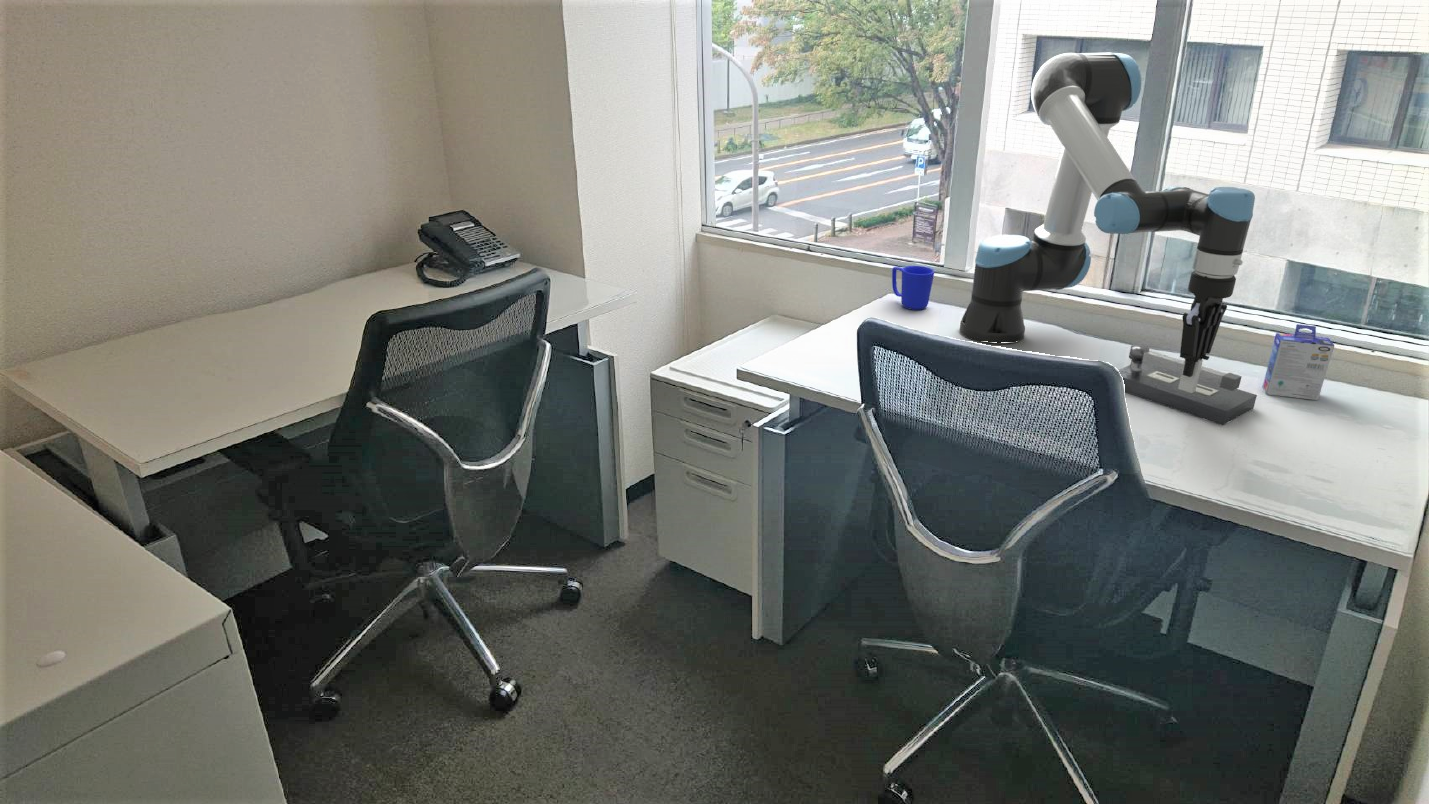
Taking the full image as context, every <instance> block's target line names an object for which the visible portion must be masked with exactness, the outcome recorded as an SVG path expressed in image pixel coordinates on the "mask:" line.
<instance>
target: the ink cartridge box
mask: <svg viewBox="0 0 1429 804" xmlns="http://www.w3.org/2000/svg"><path fill="white" fill-rule="evenodd" d="M1304 329H1307V330H1310V331H1311V332H1304V331H1303V332H1302V331H1299V330H1304ZM1316 332H1317V326H1314V325H1307V324H1306V325H1305V324H1298V323H1296V325H1295V330H1294V333H1293V334H1292V333H1291V334H1289V333H1281V332H1276V333H1275V336H1274V341H1273V344H1272V348H1271V353H1270V356H1269V360H1268V364H1267V368H1266V371H1265V375H1264V379H1263V383H1262V389H1263V392H1264V393H1265V394H1266V395H1271V396H1280V397H1286V398H1287V397H1290V398H1297V399H1303V400H1304V399H1305V400H1313V401H1319V399H1320V395H1321V391H1322V387H1323V386H1324V385H1323V384H1324V382H1325V378H1326V374H1327V371H1328V368H1329V364H1330V361H1331V357H1332V354H1333V351H1334V348H1335V344H1334V342H1332V340H1331V339H1330V338H1329V337H1325V336H1317V335H1316V334H1317V333H1316Z"/></svg>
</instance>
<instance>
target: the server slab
mask: <svg viewBox="0 0 1429 804" xmlns="http://www.w3.org/2000/svg"><path fill="white" fill-rule="evenodd" d="M1118 370H1119V372H1120V374H1121V376H1122V377H1123V380H1124V384H1125V392H1124V393H1126V394H1130V395H1133V396H1135V397H1137V398H1141V399H1144V400H1147V401H1151V402H1152V403H1156V404H1159V405H1161V406H1165V407H1167V408H1170V409H1173V410H1176V411H1179V412H1182V413H1186V414H1188V415H1190V416H1194V417H1198V418H1200V419H1203V420H1206V421H1209V422H1211V423H1214V424H1218V425H1221V426H1225V425H1226V424H1228V423H1230V422H1231V421H1232V422H1233V421H1234V420H1235V419H1238V418H1239V417H1240V416H1243V415H1244V414H1246V413H1248V412H1250V411H1252V410H1254V408H1255V405H1256V400H1257V396H1258V395H1257V394H1255V393H1252V392H1248V391H1245V390H1241V389H1239V388H1237V389H1235V390H1233V391H1231V390H1227V389H1224V388H1221V387H1220V385H1217V384H1214V383H1211V382H1207V381H1204V380H1201V379H1198V383H1197V387H1196V391H1195V392H1193V393H1190V392H1187V391H1184V390H1180V389H1178V387H1179V383H1180V378H1181V374H1182V373H1179V372H1175V371H1172V370H1169V369H1166V368H1162V367H1159V366H1156V365H1153V364H1150V363H1146V362H1143V361H1135V360H1132V359H1130V364H1128V365H1126V366H1124V367H1121V368H1120V369H1118Z"/></svg>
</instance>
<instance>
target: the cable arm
mask: <svg viewBox="0 0 1429 804" xmlns="http://www.w3.org/2000/svg"><path fill="white" fill-rule="evenodd" d="M1128 354H1129V355H1128V358H1129V359H1130V360H1131V359H1132V360H1135V361H1143V362H1146V363H1150V364H1153V365H1156V366H1159V367H1162V368H1166V369H1169V370H1172V371H1175V372H1179V373H1182V370H1183V365H1184V361H1185V360H1183V359H1181V358H1177V357H1173V356H1170V355H1166V354H1164V353H1163V354H1162V353H1159V352H1156V351H1153V350H1151V349H1150V347H1148V346H1147V345H1144V344H1132V345H1131V346H1130V349H1129V353H1128ZM1242 377H1243V376H1242V375H1238V374H1235V373H1232V372H1228V373H1227V372H1223V371H1219V370H1216V369H1212V368H1209V367H1206V366H1204V365H1202V366H1201V370H1200V374H1199V378H1198V379H1201V380H1204V381H1207V382H1211V383H1214V384H1217V385H1220V387H1221V388H1224V389H1227V390H1231V391H1233V390H1235V389H1239V388H1240V385H1241V381H1242Z"/></svg>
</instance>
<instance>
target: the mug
mask: <svg viewBox="0 0 1429 804" xmlns="http://www.w3.org/2000/svg"><path fill="white" fill-rule="evenodd" d="M897 271H899V272H901V293H900V292H899V291H898V286H897ZM891 272H892V274H891V281H892V282H891V283H892V284H891V285H892V292H893V293H894V295H895V296H896V297H900V301H901V304H902V306H903V307H904V308H906V309H908V310H915V311H917V310H924V309H927V307H928V305H929V301H930V296H931V291H932V287H933V286H932V285H933V281H934V275H935V270H934V269H933V268H930V267H928V266H923V265H922V266H921V265H909V266H904V267H901V266H894V267H892V271H891Z"/></svg>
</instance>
